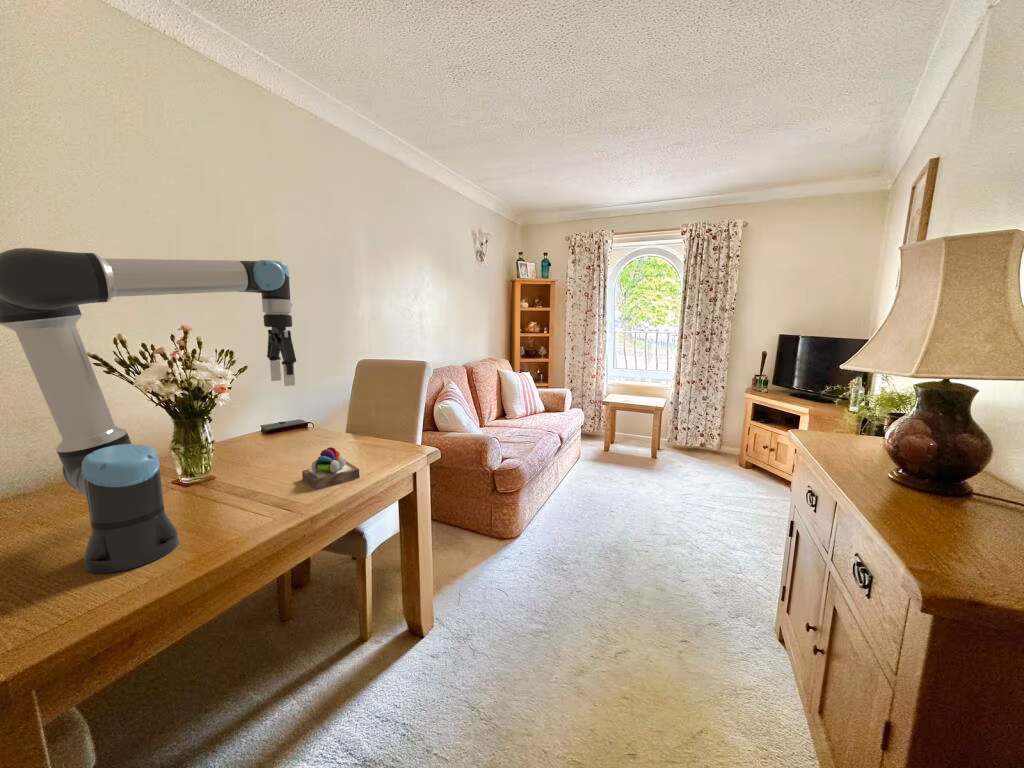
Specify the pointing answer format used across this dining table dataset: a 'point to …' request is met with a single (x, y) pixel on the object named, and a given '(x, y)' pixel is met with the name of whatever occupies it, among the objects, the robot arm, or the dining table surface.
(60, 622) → the dining table surface
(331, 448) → the rainbow pebble stack
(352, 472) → the plinth
